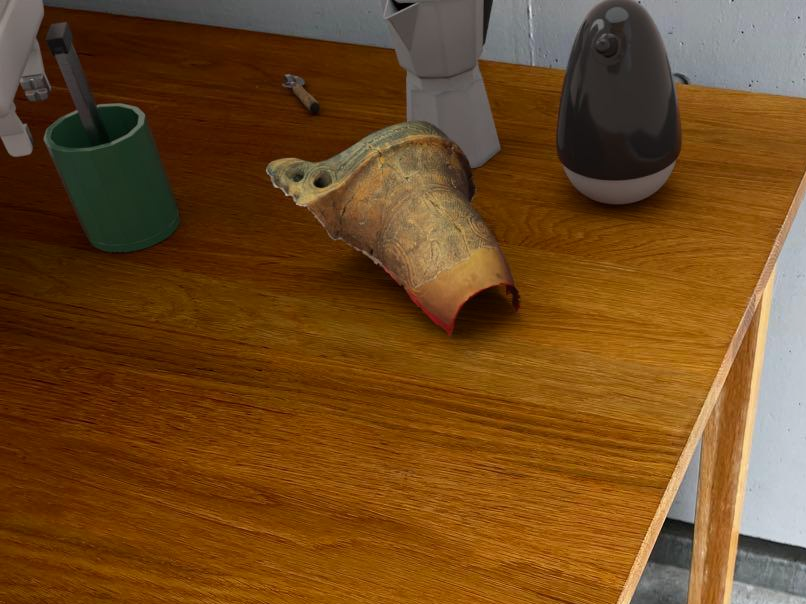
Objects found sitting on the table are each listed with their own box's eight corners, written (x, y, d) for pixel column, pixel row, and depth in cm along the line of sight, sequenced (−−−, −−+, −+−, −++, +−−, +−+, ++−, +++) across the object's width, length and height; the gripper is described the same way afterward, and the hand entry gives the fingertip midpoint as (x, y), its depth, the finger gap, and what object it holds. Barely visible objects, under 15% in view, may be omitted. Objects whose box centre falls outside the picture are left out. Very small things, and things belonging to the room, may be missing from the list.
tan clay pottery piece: (396, 272, 66) (275, 88, 72) (352, 391, 75) (246, 217, 81) (597, 248, 77) (476, 88, 83) (539, 355, 85) (433, 202, 91)
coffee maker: (453, 192, 90) (421, -33, 77) (373, 171, 93) (329, -48, 80) (544, 116, 98) (529, -99, 85) (467, 99, 102) (441, -111, 88)
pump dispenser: (544, 216, 86) (530, 26, 75) (575, 154, 93) (567, -30, 82) (667, 227, 84) (671, 33, 73) (690, 162, 91) (697, -26, 79)
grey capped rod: (122, 229, 88) (45, 39, 77) (126, 211, 90) (50, 24, 79) (137, 226, 88) (61, 37, 77) (140, 209, 90) (67, 21, 79)
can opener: (322, 112, 101) (319, 101, 101) (298, 118, 101) (295, 107, 100) (300, 77, 107) (297, 65, 106) (278, 82, 107) (275, 71, 106)
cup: (83, 260, 87) (37, 158, 80) (93, 210, 92) (51, 111, 86) (178, 245, 87) (140, 142, 81) (183, 196, 93) (148, 97, 86)
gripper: (-35, -16, 68) (55, 181, 78) (15, -115, 81) (86, 64, 92) (-135, -2, 67) (-32, 195, 78) (-68, -103, 81) (13, 75, 91)
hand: (32, 123), depth 85 cm, fingers open, 8 cm apart
